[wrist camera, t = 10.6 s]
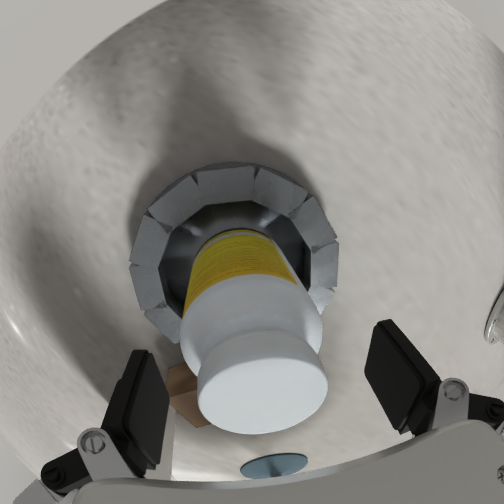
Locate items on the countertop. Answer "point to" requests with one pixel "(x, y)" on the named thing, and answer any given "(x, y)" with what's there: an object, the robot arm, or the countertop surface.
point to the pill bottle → (251, 335)
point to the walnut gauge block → (185, 394)
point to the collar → (221, 218)
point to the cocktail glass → (274, 466)
